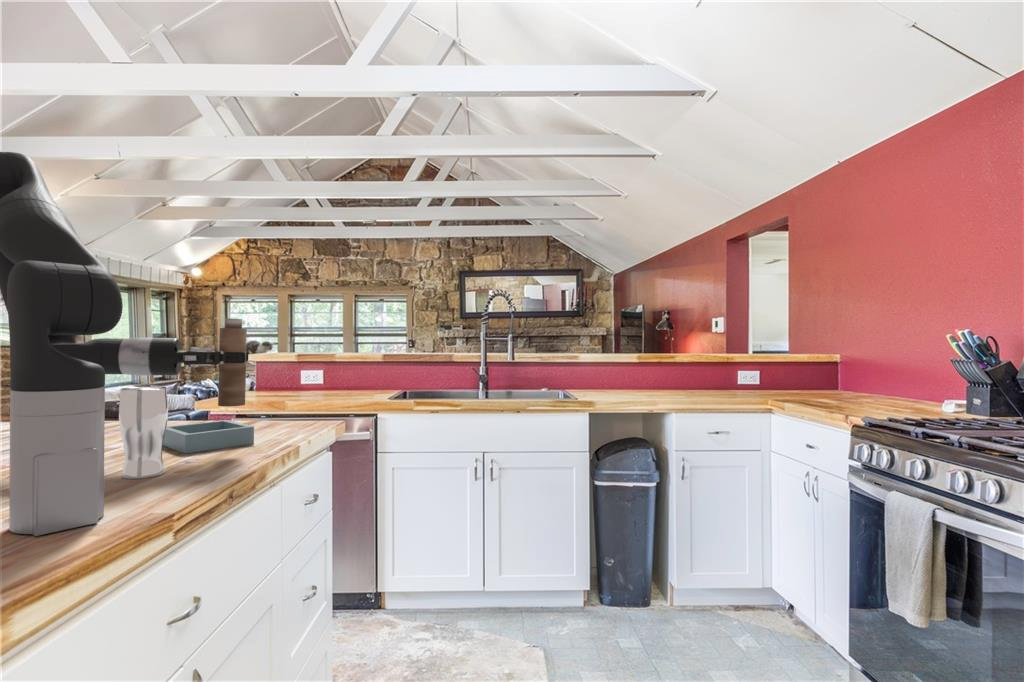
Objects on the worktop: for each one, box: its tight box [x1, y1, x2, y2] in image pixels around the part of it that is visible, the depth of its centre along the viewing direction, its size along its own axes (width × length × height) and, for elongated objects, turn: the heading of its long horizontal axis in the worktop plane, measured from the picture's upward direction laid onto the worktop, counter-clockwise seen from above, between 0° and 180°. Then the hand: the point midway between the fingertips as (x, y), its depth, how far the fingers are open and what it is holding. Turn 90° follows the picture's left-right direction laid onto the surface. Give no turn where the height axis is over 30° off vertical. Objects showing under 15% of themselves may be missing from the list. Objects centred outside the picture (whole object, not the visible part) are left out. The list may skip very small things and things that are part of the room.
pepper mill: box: [217, 318, 248, 407], centre depth 110 cm, size 5×5×18 cm
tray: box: [162, 419, 255, 454], centre depth 117 cm, size 14×14×4 cm
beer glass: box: [118, 385, 169, 480], centre depth 91 cm, size 7×7×15 cm
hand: (246, 357), depth 111 cm, fingers closed on pepper mill, 5 cm apart
